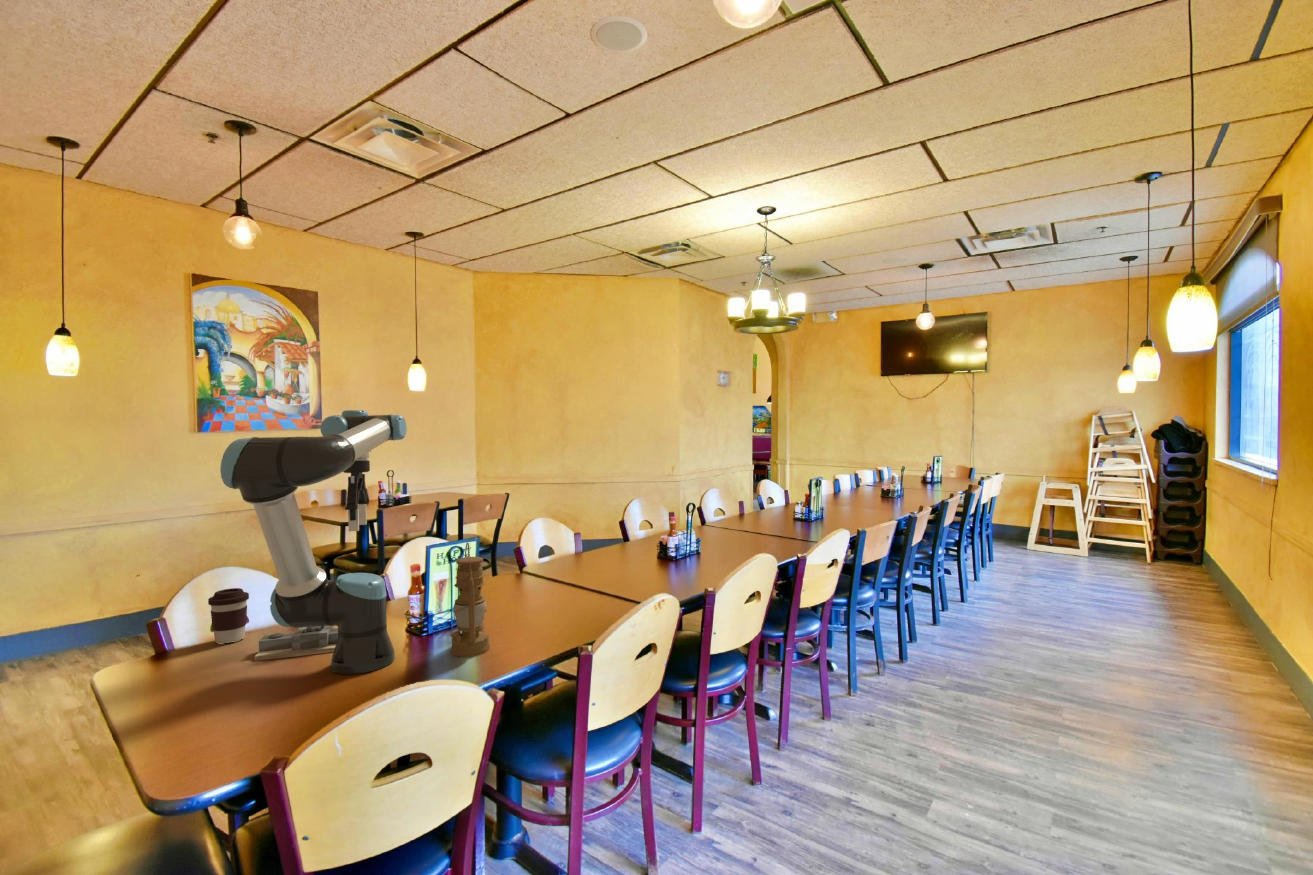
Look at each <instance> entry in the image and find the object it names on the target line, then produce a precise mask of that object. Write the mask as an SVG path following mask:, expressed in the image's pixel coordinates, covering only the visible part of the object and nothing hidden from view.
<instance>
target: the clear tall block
mask: <svg viewBox="0 0 1313 875" xmlns="http://www.w3.org/2000/svg"><path fill="white" fill-rule="evenodd" d="M306 630H307V632H317V631H321V626H314V627H306Z"/></svg>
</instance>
